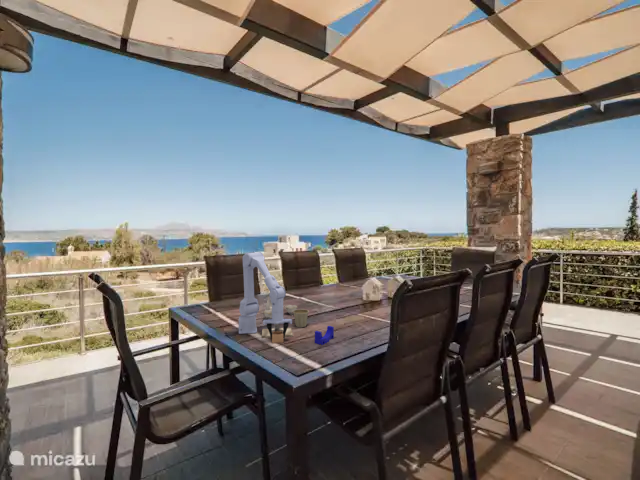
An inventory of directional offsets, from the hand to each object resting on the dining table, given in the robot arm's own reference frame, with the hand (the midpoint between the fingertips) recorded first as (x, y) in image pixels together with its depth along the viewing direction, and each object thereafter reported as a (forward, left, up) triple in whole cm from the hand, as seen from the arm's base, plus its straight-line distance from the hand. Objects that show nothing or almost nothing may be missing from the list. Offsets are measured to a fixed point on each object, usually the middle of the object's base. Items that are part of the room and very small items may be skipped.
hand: (277, 337), depth 167 cm
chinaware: (+1, +47, -2) cm, 47 cm away
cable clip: (+24, -3, -2) cm, 24 cm away
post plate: (0, +11, -1) cm, 11 cm away
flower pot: (+14, +23, -2) cm, 27 cm away
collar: (0, 0, -1) cm, 1 cm away
